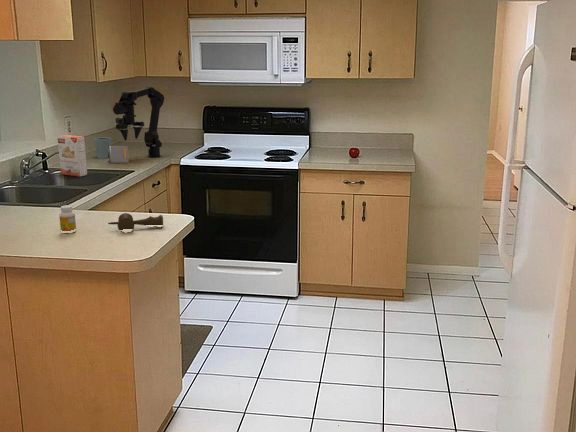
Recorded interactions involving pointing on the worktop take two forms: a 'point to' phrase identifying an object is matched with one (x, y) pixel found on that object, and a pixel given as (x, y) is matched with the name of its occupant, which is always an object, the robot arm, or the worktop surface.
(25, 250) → the worktop surface
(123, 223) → the kendama
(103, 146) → the drinking glass
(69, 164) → the cracker box
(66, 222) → the supplement bottle
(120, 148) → the pale grey square case
